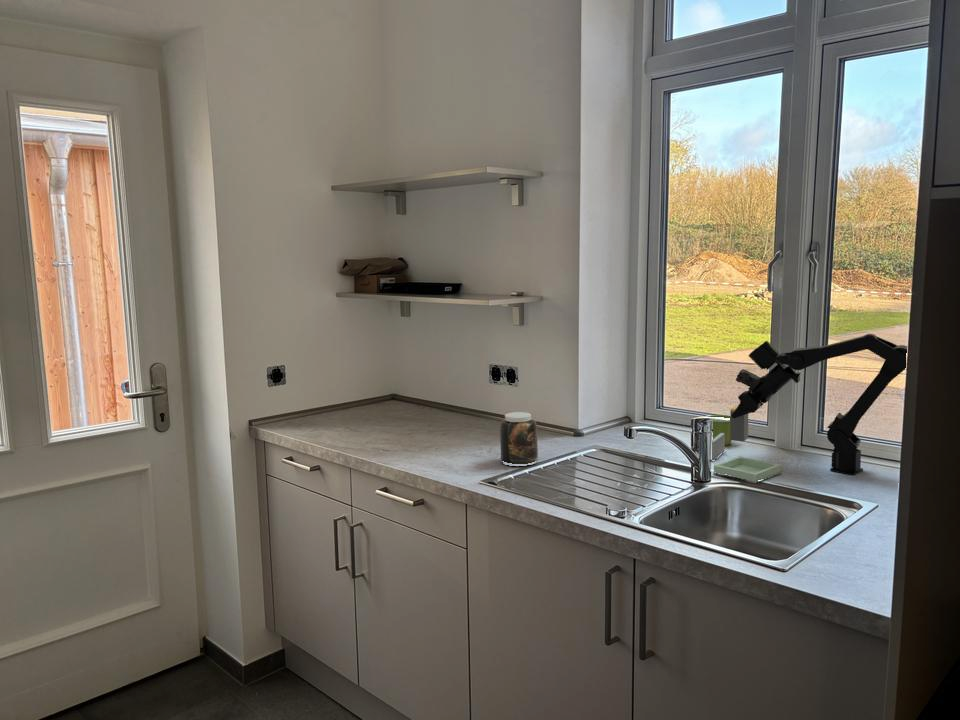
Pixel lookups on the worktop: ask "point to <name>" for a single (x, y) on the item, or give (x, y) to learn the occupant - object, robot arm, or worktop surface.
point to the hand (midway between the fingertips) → (734, 415)
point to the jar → (518, 438)
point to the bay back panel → (718, 445)
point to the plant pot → (722, 428)
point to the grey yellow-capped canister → (738, 426)
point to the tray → (748, 469)
